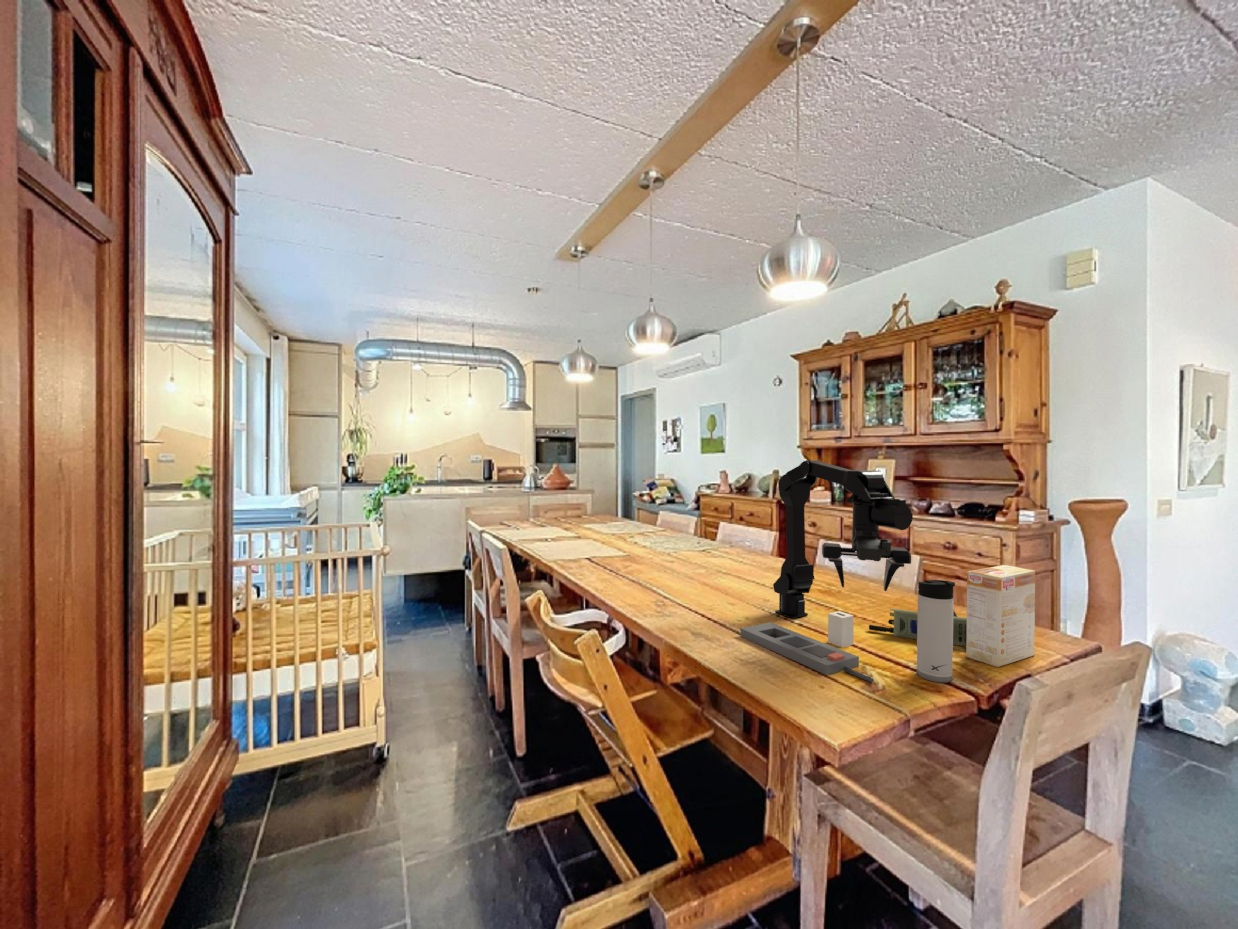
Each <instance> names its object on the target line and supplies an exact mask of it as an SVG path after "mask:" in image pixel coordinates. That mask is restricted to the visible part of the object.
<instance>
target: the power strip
mask: <svg viewBox="0 0 1238 929" xmlns="http://www.w3.org/2000/svg"><path fill="white" fill-rule="evenodd" d="M740 637H741V638H743V639H746V640H748V641H750V642H752V643H754V644H757V645H759V646H761V647H764V648H766V649H768V650H770V651H773V652H774V653H777V654H779V655H781V656H783V657H786V658H787V659H790V660H792V661H795V662H796V663H799V664H801V665H803V666H805V667H808V668H810V669H812V670H814V671H816V672H819V673H821V674H823V675H825V676H829V675H832V674H835V673H839V672H842V671H843V672H845V673H847V674H850V675H852V676H855V677H857V678H859V679H861V680H865V681H866V682H869V683H874V678H873V677H872V676H870V675H867V674H864V673H862V672H860V671H858V670H855V669H852V668H856V667H859V666H860V664H859V663H860V656H859V655H855V654H853V653H851V652H848V651H845V650H842V649H840V648H838V647H835V646H832V645H830V644H827V643H825V642H822V641H820V640H816V639H814V638H811V637H809V636H807V635H805V634H802V633H799V632H796V631H794V630H793V629H792V630H791V629H788V628H786V627H784V626H781V625H778V624H776V623H773V622H771V621H770V622H766V623H765V622H764V623H759V624H757V625H756V624H755V625H751V626H744V627H741V628H740Z"/></svg>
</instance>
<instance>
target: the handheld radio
mask: <svg viewBox="0 0 1238 929" xmlns="http://www.w3.org/2000/svg"><path fill="white" fill-rule="evenodd" d="M889 611H890V612H889V617H893V619H892V618H891V619H888V621H887V623H888V624H889V625H892V626H893V627H886V626H880V625H874V624H868V629H869V631H875V632H882V633H883V632H884V633H890V634H893V637H898V638H906V639H913V640H917V621H918V611H914V610H912V611H911V610H905V609H898V608H897V609H896V608H889ZM891 611H893V612H891ZM966 640H967V617H964V616H963V617H962V616H957V617H955V616H953V646H954V645H955V646H961V647H966Z"/></svg>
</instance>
